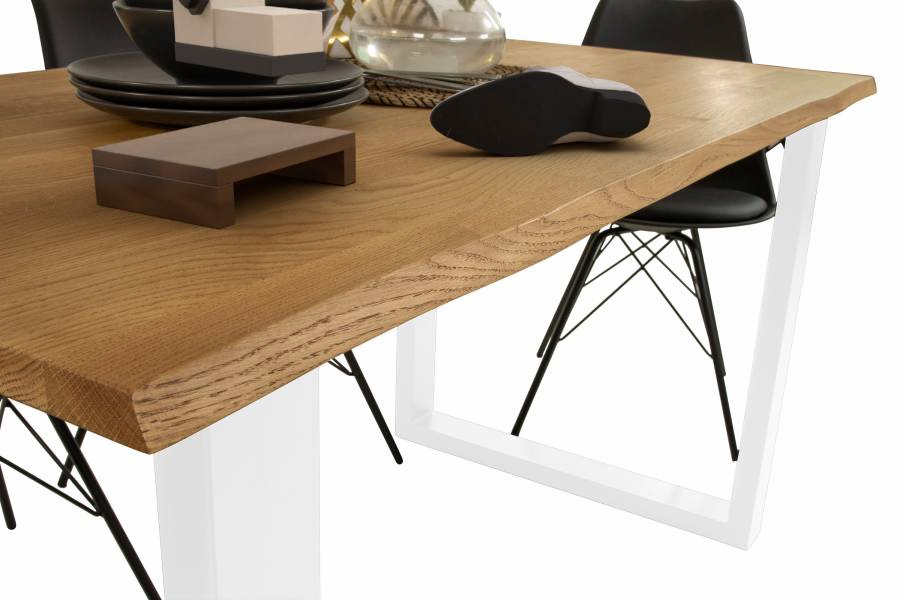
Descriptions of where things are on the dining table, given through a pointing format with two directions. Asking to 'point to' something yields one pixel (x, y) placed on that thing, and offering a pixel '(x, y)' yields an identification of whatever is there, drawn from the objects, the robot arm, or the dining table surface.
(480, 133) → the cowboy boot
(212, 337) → the dining table surface
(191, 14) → the robot arm
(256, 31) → the trainer
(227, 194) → the shoe shelf
